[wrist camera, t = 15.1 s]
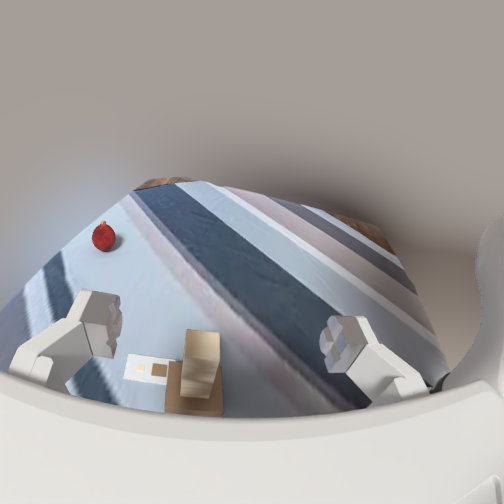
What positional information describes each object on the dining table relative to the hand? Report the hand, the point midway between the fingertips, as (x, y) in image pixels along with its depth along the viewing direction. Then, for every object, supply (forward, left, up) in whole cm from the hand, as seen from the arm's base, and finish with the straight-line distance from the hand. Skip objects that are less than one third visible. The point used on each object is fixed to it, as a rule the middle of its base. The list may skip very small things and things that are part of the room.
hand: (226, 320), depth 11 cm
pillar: (0, -14, -29) cm, 32 cm away
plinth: (0, -14, -32) cm, 35 cm away
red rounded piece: (+24, -49, -32) cm, 63 cm away
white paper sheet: (+7, -18, -32) cm, 37 cm away
